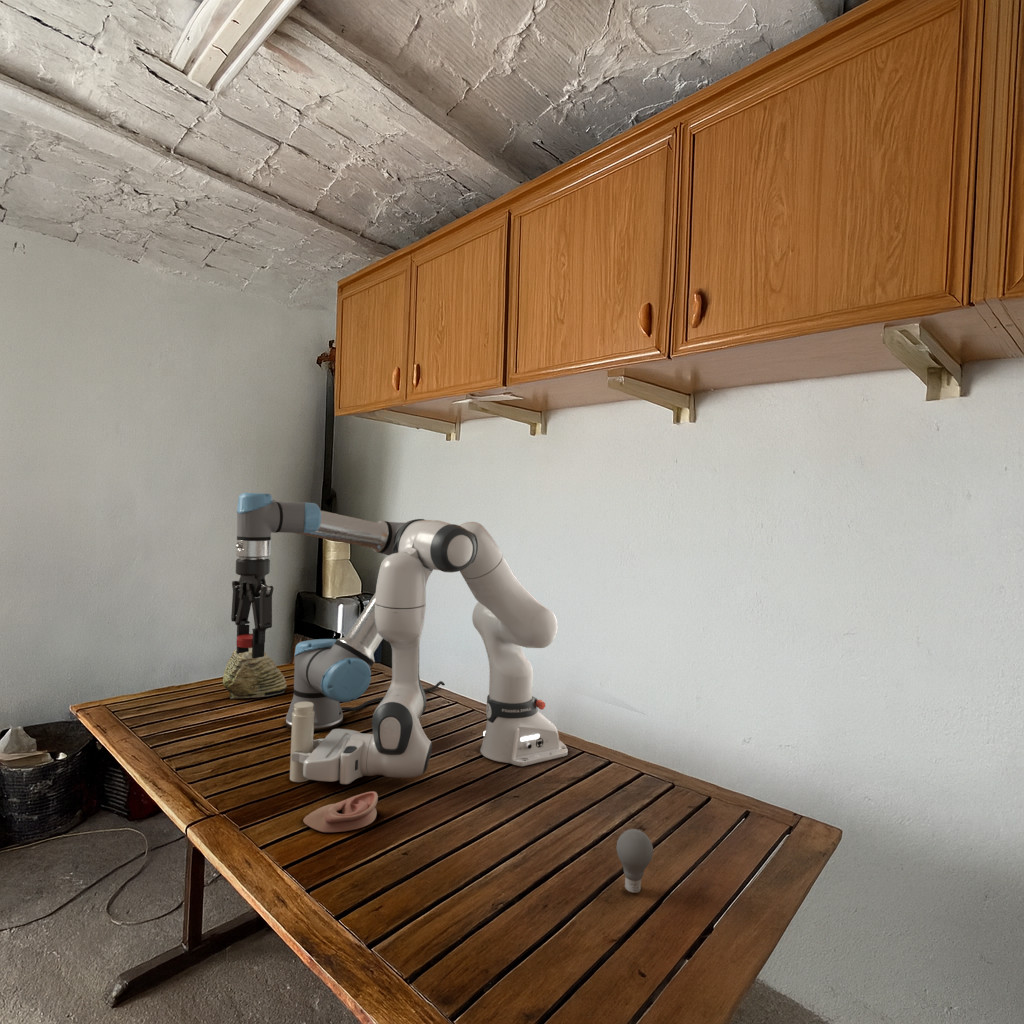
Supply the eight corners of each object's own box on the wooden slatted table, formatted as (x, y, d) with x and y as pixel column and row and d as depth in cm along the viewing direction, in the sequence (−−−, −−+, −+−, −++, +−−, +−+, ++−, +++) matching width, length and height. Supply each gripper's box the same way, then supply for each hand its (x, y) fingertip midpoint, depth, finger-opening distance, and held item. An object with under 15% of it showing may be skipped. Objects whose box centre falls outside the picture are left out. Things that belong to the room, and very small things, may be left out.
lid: (269, 644, 152) (269, 635, 152) (249, 649, 147) (249, 640, 147) (251, 641, 155) (251, 632, 155) (230, 645, 149) (231, 636, 149)
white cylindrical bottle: (291, 783, 139) (293, 708, 139) (288, 774, 143) (290, 702, 143) (313, 780, 141) (316, 706, 141) (310, 771, 146) (312, 700, 145)
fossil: (218, 695, 195) (220, 647, 195) (278, 685, 208) (279, 640, 207) (228, 703, 189) (230, 653, 188) (289, 692, 201) (290, 645, 201)
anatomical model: (295, 807, 120) (325, 781, 132) (294, 828, 121) (324, 800, 132) (360, 817, 118) (384, 790, 129) (359, 838, 118) (384, 809, 129)
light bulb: (610, 879, 108) (613, 822, 108) (644, 879, 109) (647, 822, 109) (619, 902, 102) (622, 840, 102) (655, 901, 103) (658, 840, 103)
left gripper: (216, 555, 153) (213, 650, 153) (261, 562, 142) (258, 665, 142) (245, 553, 159) (242, 645, 159) (290, 560, 148) (287, 659, 148)
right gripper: (371, 723, 152) (314, 720, 153) (345, 758, 132) (280, 754, 132) (370, 749, 152) (313, 746, 153) (344, 788, 132) (279, 784, 132)
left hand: (250, 654), depth 151 cm, fingers closed on lid, 6 cm apart
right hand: (297, 750), depth 142 cm, fingers closed on white cylindrical bottle, 5 cm apart
